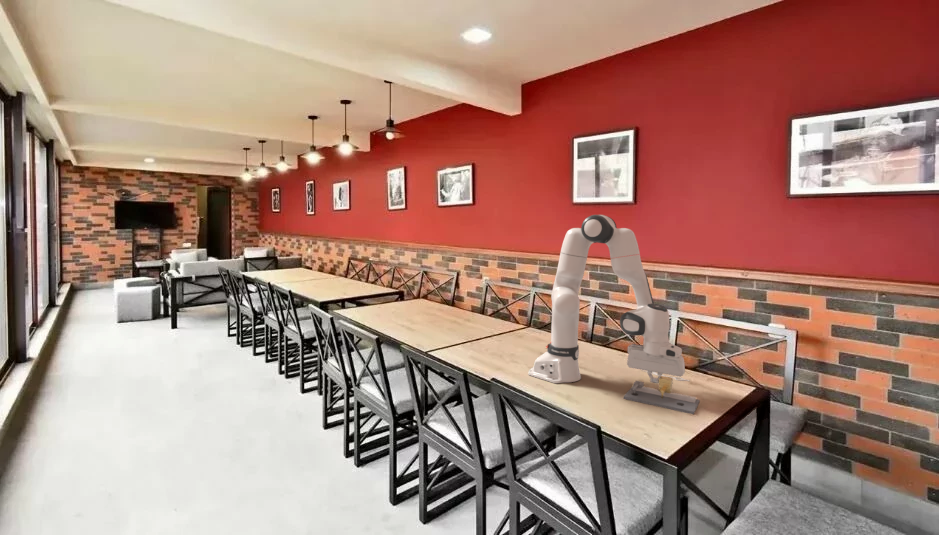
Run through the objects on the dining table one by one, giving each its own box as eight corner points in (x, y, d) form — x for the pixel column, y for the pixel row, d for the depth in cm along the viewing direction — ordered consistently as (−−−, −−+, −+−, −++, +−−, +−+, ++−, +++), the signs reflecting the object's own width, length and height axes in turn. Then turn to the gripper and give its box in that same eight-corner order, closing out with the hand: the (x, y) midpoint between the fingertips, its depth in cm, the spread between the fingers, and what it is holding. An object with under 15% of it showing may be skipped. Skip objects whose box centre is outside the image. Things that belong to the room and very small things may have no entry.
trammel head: (656, 397, 166) (656, 381, 165) (660, 391, 172) (661, 375, 171) (667, 399, 164) (668, 383, 163) (671, 393, 169) (672, 377, 169)
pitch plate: (623, 398, 170) (623, 388, 169) (632, 388, 179) (633, 378, 179) (693, 414, 156) (694, 403, 155) (699, 402, 165) (699, 392, 165)
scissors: (672, 385, 181) (633, 370, 199) (672, 387, 182) (633, 371, 199) (690, 380, 186) (650, 366, 204) (690, 382, 186) (650, 367, 204)
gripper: (625, 345, 173) (624, 379, 175) (683, 353, 161) (681, 391, 163) (630, 341, 178) (629, 374, 180) (686, 349, 166) (685, 385, 168)
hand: (654, 382), depth 171 cm, fingers closed
